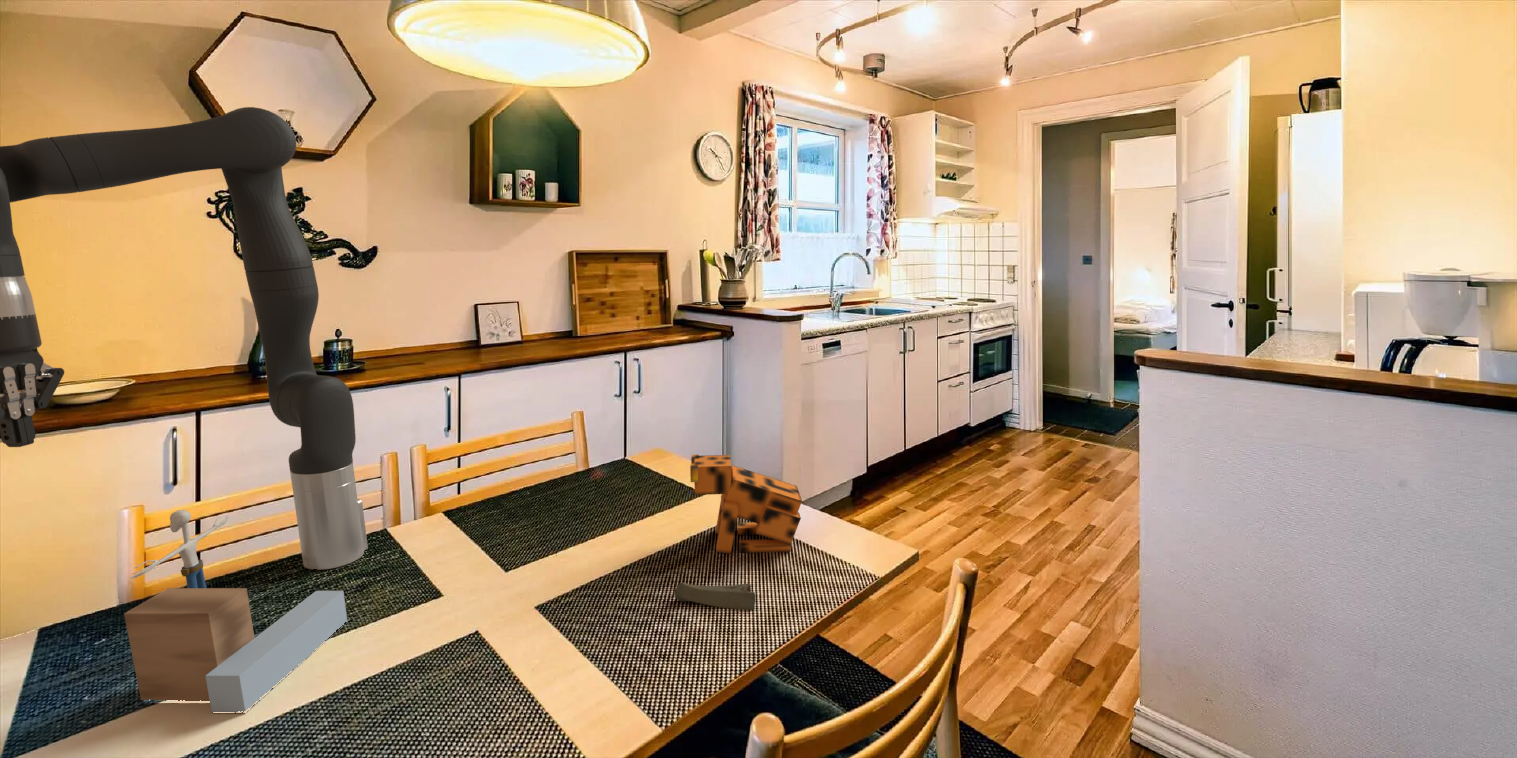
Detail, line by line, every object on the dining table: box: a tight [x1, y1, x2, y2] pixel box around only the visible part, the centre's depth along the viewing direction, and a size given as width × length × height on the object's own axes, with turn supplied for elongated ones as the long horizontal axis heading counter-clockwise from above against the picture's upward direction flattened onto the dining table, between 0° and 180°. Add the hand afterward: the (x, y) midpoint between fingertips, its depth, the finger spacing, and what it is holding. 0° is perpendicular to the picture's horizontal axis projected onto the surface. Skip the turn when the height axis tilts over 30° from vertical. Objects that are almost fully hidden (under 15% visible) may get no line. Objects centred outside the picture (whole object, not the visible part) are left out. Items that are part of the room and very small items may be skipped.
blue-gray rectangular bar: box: [205, 590, 348, 713], centre depth 89 cm, size 20×4×5 cm, turn 0°
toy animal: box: [689, 454, 803, 555], centre depth 125 cm, size 10×20×16 cm, turn 94°
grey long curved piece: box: [673, 581, 757, 611], centre depth 105 cm, size 13×5×4 cm, turn 82°
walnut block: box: [123, 587, 255, 701], centre depth 83 cm, size 6×10×12 cm, turn 90°
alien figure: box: [130, 509, 231, 588], centre depth 93 cm, size 20×5×19 cm, turn 8°
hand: (20, 445), depth 88 cm, fingers closed
